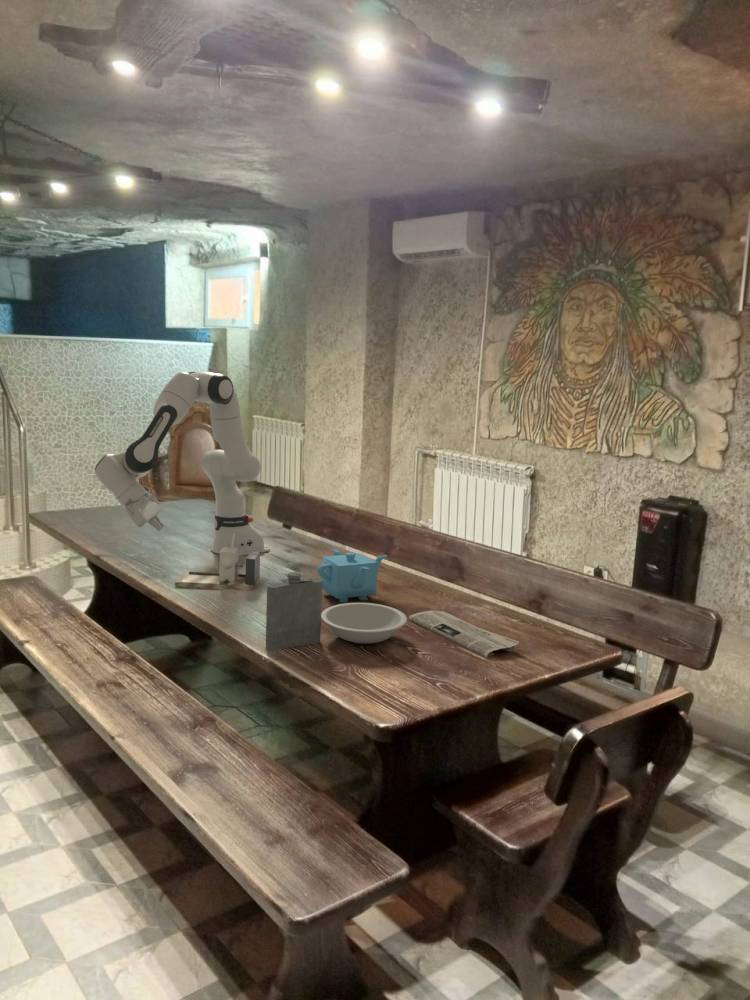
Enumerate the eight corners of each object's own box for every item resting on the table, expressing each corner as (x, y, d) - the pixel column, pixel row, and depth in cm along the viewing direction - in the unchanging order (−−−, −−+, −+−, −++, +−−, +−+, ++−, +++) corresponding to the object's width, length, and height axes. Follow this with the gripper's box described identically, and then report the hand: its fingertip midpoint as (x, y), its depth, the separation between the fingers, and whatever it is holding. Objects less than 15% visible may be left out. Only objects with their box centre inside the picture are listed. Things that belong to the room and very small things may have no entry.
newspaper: (408, 621, 235) (408, 610, 235) (439, 615, 243) (440, 604, 242) (490, 661, 208) (491, 649, 207) (522, 652, 215) (523, 640, 214)
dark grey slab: (245, 585, 257) (245, 558, 255) (250, 576, 267) (251, 550, 265) (254, 585, 257) (254, 559, 255) (259, 576, 267) (260, 551, 265)
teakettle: (312, 601, 249) (313, 556, 246) (332, 585, 266) (334, 543, 264) (368, 609, 243) (370, 563, 241) (385, 592, 261) (387, 550, 258)
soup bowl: (410, 655, 208) (412, 632, 207) (320, 654, 206) (321, 630, 204) (400, 624, 231) (402, 603, 230) (319, 623, 229) (320, 601, 228)
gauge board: (175, 586, 256) (175, 579, 256) (184, 576, 268) (184, 569, 268) (253, 590, 256) (253, 584, 256) (260, 580, 268) (260, 573, 267)
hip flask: (268, 651, 206) (270, 578, 202) (262, 646, 209) (263, 574, 205) (322, 642, 214) (324, 572, 210) (315, 637, 217) (317, 568, 214)
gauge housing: (217, 583, 256) (217, 553, 254) (223, 575, 265) (223, 547, 263) (238, 584, 256) (239, 554, 254) (243, 576, 265) (244, 548, 263)
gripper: (130, 497, 248) (159, 530, 250) (149, 486, 268) (176, 516, 270) (116, 510, 249) (145, 542, 251) (135, 497, 269) (163, 527, 271)
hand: (161, 528), depth 261 cm, fingers closed
